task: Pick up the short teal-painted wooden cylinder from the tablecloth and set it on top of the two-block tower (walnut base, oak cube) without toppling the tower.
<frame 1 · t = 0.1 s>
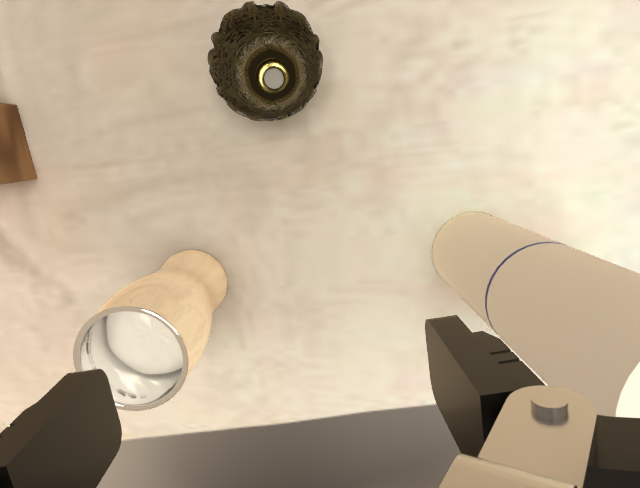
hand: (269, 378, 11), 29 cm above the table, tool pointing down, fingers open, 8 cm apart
beer glass: (193, 282, 41), on the table
cylindrical container: (470, 250, 41), on the table
cup: (273, 79, 38), on the table
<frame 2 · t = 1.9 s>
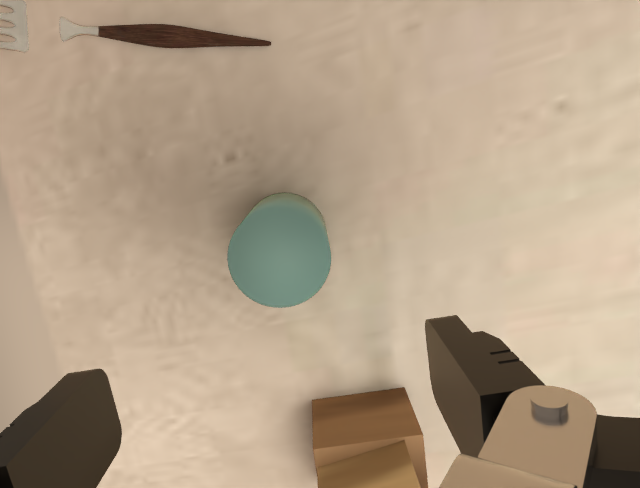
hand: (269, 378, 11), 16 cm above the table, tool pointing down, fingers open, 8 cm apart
cylinder: (285, 233, 27), on the table
base block: (363, 433, 30), on the table, touching top block
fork: (126, 35, 25), on the table
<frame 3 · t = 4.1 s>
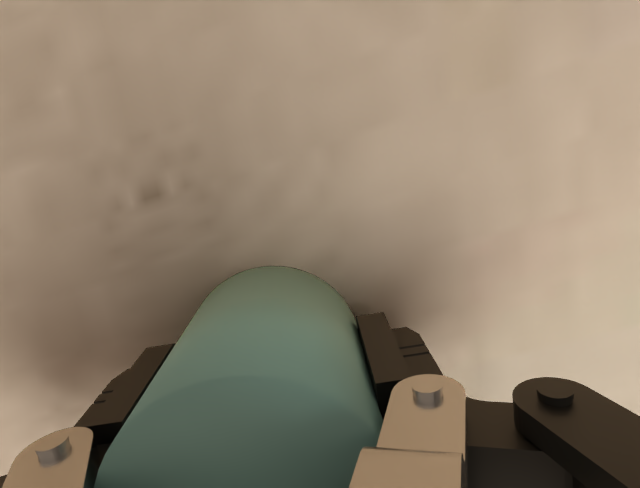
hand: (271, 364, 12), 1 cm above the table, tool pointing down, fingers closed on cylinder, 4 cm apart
cylinder: (275, 348, 13), on the table, touching gripper
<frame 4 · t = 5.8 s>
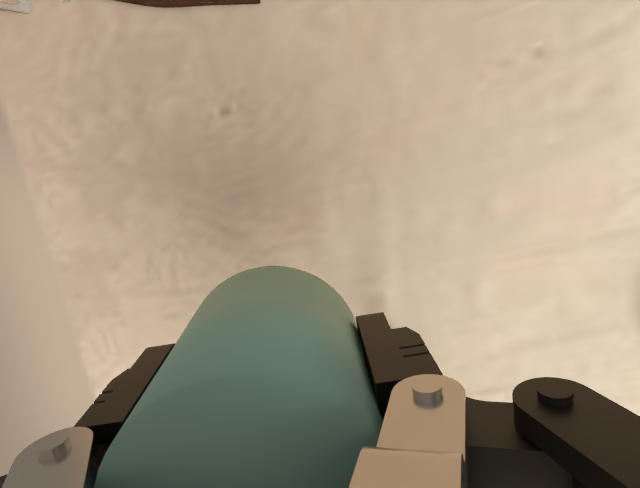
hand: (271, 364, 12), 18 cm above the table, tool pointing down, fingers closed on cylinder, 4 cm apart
cylinder: (275, 348, 13), point 17 cm above the table, touching gripper
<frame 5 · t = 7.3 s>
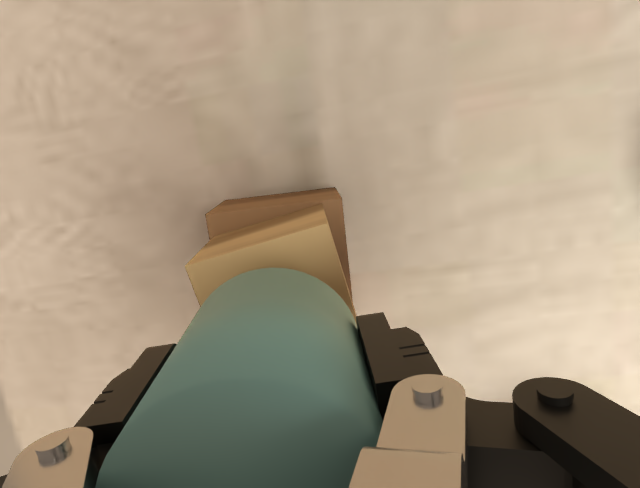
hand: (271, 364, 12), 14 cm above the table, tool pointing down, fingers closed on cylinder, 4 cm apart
top block: (285, 271, 21), point 5 cm above the table, touching base block
cylinder: (275, 349, 13), point 13 cm above the table, touching gripper
base block: (287, 247, 26), on the table, touching top block
when the fingers open (12 cm above the table, at t = 8.0 s): cylinder drops 1 cm, resting on top block.
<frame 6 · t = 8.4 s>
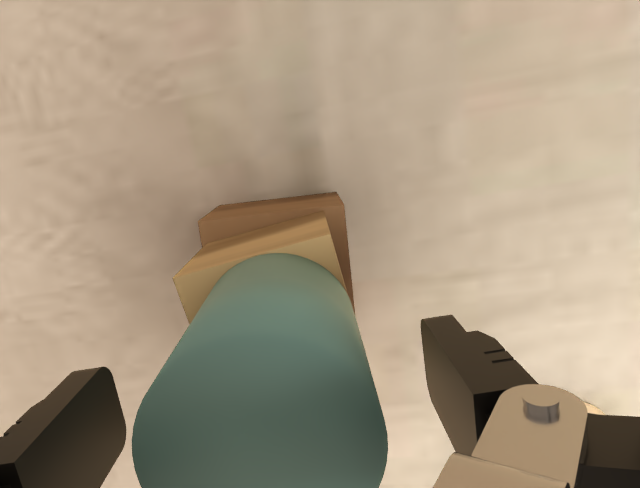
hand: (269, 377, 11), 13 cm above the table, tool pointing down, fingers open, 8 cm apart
top block: (282, 282, 19), point 5 cm above the table, touching base block, cylinder
cylinder: (279, 326, 15), point 10 cm above the table, touching top block
base block: (285, 254, 24), on the table, touching top block
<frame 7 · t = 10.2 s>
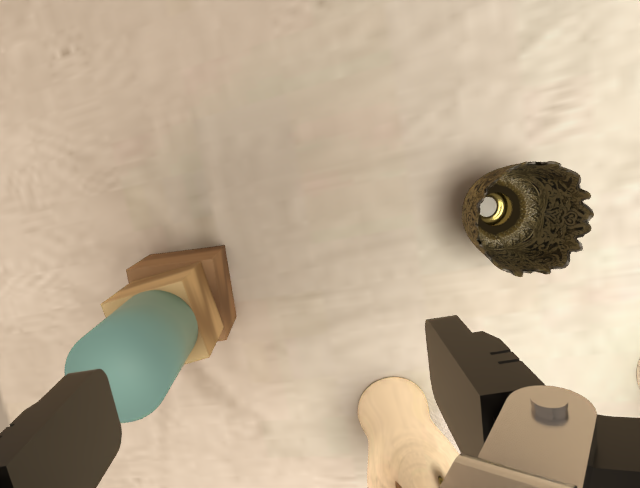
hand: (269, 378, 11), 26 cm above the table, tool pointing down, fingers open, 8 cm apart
top block: (178, 304, 32), point 5 cm above the table, touching cylinder
cylinder: (157, 328, 27), point 10 cm above the table, touching top block
beer glass: (391, 407, 40), on the table
base block: (193, 285, 37), on the table
cup: (485, 206, 37), on the table
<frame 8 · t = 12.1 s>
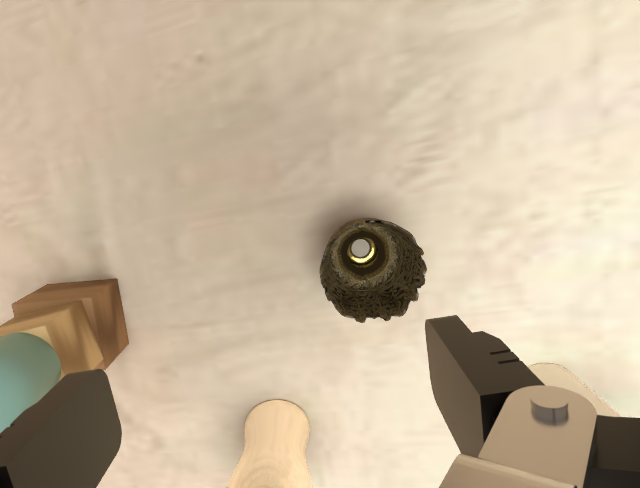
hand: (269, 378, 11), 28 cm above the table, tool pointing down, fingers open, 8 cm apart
top block: (61, 337, 35), point 5 cm above the table, touching base block, cylinder
cylinder: (24, 366, 31), point 10 cm above the table, touching top block
beer glass: (277, 426, 43), on the table
cylindrical container: (540, 396, 43), on the table
base block: (89, 314, 40), on the table, touching top block
cup: (360, 247, 40), on the table
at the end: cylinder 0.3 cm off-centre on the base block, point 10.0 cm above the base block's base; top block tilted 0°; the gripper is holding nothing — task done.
